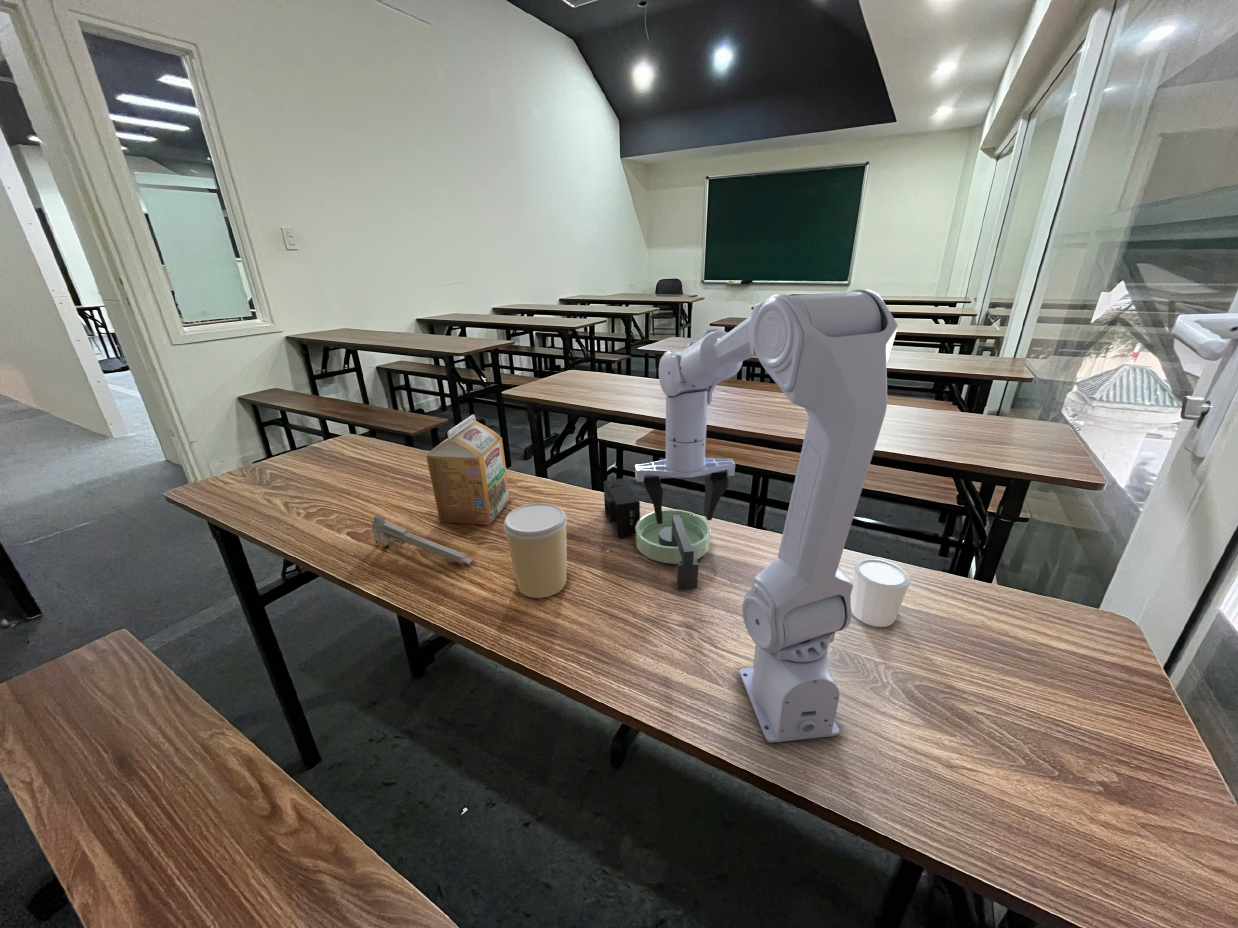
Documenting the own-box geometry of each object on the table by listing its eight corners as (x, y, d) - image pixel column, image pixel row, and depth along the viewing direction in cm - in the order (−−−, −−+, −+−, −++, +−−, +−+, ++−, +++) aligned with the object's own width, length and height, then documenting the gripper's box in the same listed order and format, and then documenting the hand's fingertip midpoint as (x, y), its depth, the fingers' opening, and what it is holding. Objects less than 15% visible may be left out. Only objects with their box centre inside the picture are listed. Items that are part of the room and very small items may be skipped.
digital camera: (598, 512, 96) (597, 481, 94) (624, 508, 98) (624, 477, 95) (611, 539, 87) (610, 505, 84) (640, 534, 88) (639, 500, 86)
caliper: (376, 545, 87) (367, 515, 85) (380, 542, 88) (372, 512, 86) (468, 565, 81) (462, 533, 78) (472, 562, 82) (466, 530, 79)
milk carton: (489, 524, 93) (474, 432, 86) (439, 521, 95) (421, 431, 87) (510, 499, 103) (498, 414, 95) (464, 496, 104) (449, 413, 97)
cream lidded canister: (580, 569, 79) (575, 505, 74) (558, 606, 71) (551, 536, 66) (528, 561, 81) (520, 499, 77) (501, 596, 73) (491, 528, 68)
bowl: (718, 562, 80) (719, 545, 78) (640, 568, 79) (640, 551, 77) (699, 523, 91) (700, 507, 90) (631, 528, 90) (631, 511, 89)
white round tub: (907, 633, 64) (918, 590, 61) (851, 627, 65) (860, 585, 62) (891, 599, 70) (900, 559, 67) (840, 594, 71) (848, 555, 68)
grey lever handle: (703, 587, 74) (705, 551, 71) (672, 589, 74) (673, 553, 70) (682, 532, 87) (684, 500, 84) (656, 534, 87) (657, 502, 84)
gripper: (727, 424, 73) (722, 503, 78) (632, 429, 71) (633, 509, 77) (742, 440, 66) (735, 525, 71) (638, 446, 65) (639, 532, 70)
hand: (683, 518), depth 74 cm, fingers open, 7 cm apart
